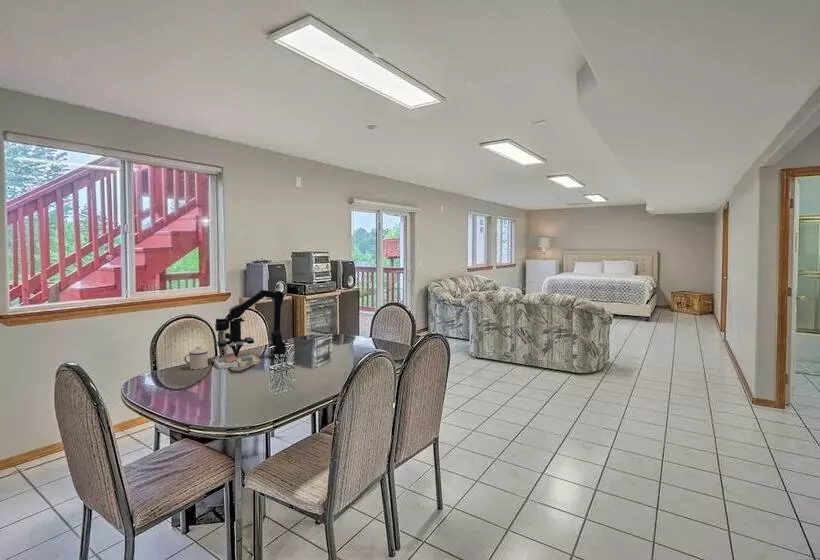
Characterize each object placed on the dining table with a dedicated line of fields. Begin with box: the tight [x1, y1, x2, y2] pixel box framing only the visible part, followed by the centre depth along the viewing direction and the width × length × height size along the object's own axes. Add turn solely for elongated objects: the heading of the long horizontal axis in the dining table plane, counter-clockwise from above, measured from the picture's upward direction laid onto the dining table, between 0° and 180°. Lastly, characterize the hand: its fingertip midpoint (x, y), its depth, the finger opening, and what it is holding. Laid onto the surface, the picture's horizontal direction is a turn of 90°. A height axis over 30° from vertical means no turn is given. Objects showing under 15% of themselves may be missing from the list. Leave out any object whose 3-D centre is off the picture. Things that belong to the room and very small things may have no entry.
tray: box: [212, 356, 239, 370], centre depth 240 cm, size 10×16×2 cm, turn 34°
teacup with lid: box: [183, 345, 209, 371], centre depth 233 cm, size 12×9×12 cm
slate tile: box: [240, 354, 253, 362], centre depth 242 cm, size 5×5×2 cm
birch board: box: [235, 354, 263, 367], centre depth 246 cm, size 12×16×2 cm
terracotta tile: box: [225, 354, 237, 363], centre depth 244 cm, size 5×5×2 cm
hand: (235, 356), depth 246 cm, fingers closed
